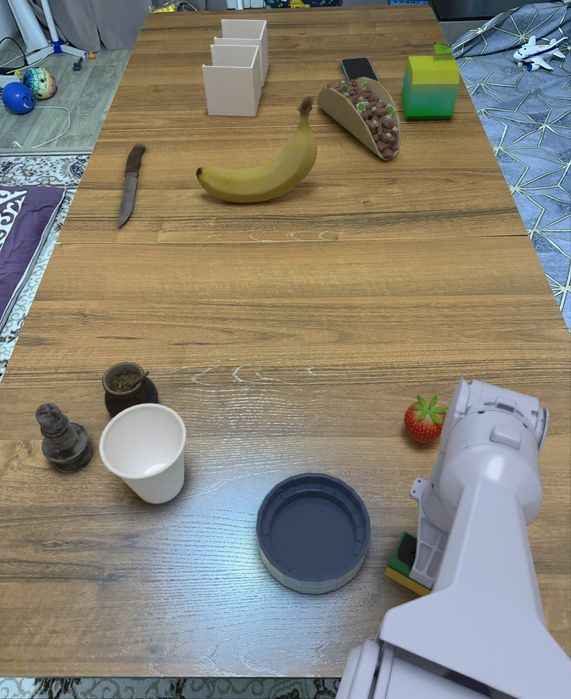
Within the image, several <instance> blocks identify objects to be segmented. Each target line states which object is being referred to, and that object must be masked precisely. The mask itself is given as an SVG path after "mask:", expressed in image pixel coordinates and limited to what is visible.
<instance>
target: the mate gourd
mask: <svg viewBox="0 0 571 699" xmlns="http://www.w3.org/2000/svg"><path fill="white" fill-rule="evenodd" d="M149 374H150V371H149V370H147V371H146V372H145V371H144V369H143V367H142V366H141V365H139V364H138V363H136V362H133V361H126V360H125V361H122V362H118V363H115V364H113V365H111V366H110V367H109V368H108V369H107V370H106V371H105V372H104V373H103V376H102V379H101V385H102V388H103V389H104V405H105V409H106V411H107V412H108V414H109V417H111V419H113V418H114V417H115V416H116V415H118V414H119V413H120V412H122V411H124V410H125V409H128V408H130V407H133V406H136V405H140V404H149V403H151V404H159V393H158V392H159V391H158V388H157V387H156V385H155V384H154V382H153V381H152V380H151V379H150V378H149V377H148V376H149Z"/></svg>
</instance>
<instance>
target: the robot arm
mask: <svg viewBox="0 0 571 699" xmlns="http://www.w3.org/2000/svg"><path fill="white" fill-rule="evenodd" d="M449 401H450V402H449V404H448V406H447V407H448V410H447V411H446V413H447V414H446V417H445V420H444V424H443V428H442V431H441V435H440V436H439V437H440V439H439V441H440V442H439V451H438V453H437V455H436V458H435V461H434V464H433V466H432V469H431V472H430V475H429V478H428V479H425V478H423V477H416V478H415V479H414V482H413V484H412V485H411V487H410V490H409V493H408V495H409V497H410V499H412V500H414V501H415V502H416V503H417V504H418V505H417V506H418V508H417V509H418V512H417V527H416V528H417V529H416V530H417V531H416V537H417V539H416V538H414V537H412V536H410V535H408V534H407V533H405V535H404V537H403V539H402V541H401V544H400V546H399V548H398V551H397V558H398V560H400V561H401V562H403V563H405V564H406V565H408V566H409V570H410V575H409V577H410V578H412V579H414V580H416V581H417V582H419V583H421V584H423V585H425V586H426V587H428V588H431V586H432V585H433V583H434V585H433V588H432V591H431V594H428V595H426V596H420V597H417V598H415V599H413V600H409V601H407V602H405V603H402V604H399V605H397V606H394V607H391V608H390V609H388V610H387V611H385V613H384V615H383V617H382V620H381V621H380V625H379V628H378V630H377V633H376V636H375V639H374V641H373V640H371V639H366V640H364V642H363V644H359V645H357V646H355V647H352V648H350V650H349V653H348V657H347V660H346V663H345V665H344V669H343V673H342V676H341V678H340V683H339V686H338V689H337V692H336V695H335V698H334V699H571V658H570V657H569V655H568V654H567V653H566V652H565V651H564V649H563V648H562V646H561V645H560V644H559V643H558V642H557V640H555V638H554V637H553V636H552V634H551V633H550V632H549V631H548V627H547V622H546V618H545V613H544V608H543V607H544V606H543V602H542V598H541V594H540V593H541V592H540V588H539V587H540V586H539V583H538V582H539V581H538V579H537V573H536V568H535V562H534V558H533V554H532V548H531V544H530V543H531V542H530V538H529V534H528V529H527V528H528V527H529V526H530V525H531V524H533V522H534V521H535V519H536V518H537V517H538V515H539V513H540V512H541V509H542V505H543V500H544V499H543V498H544V494H543V485H542V474H541V465H540V454H541V452H542V449H543V447H544V444H545V441H546V437H547V433H548V428H549V419H550V412H549V409H548V407H542V406H540V400H539V398H538V397H536V396H532V395H528V394H524V393H522V392H518V391H516V390H512V389H509V388H508V389H507V388H504V387H501V386H498V385H494V384H492V383H491V384H490V383H488V382H484V381H480V380H477V379H474V378H472V379H471V380H470V382H469V384H468V382H467V381H466V380H465V379H464V376H462V377H461V378H460V379H459V381H458V382H457V384H456V386H455V387H454V390H453V393H452V395H451V398H450V400H449Z"/></svg>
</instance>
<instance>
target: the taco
mask: <svg viewBox="0 0 571 699" xmlns="http://www.w3.org/2000/svg"><path fill="white" fill-rule="evenodd" d="M379 82H380V81H379ZM379 82H378V81H375V80H372V79H369V78H366V77H360V78H358V79H356V80H354V79H352V80H351V82H348V81H347V80H345V79H343V80H341V81H339V80H337V82H334V81H331V82H328V83H326V87H325V86H322V89H321V90H319V93H318V96H317V100H316V104H317V106H318V107H319V108H320V109H322V111H324V112H325V113H326V114H327V115H329V116H330V117H331V118H332V119H334V120H335V121H336V122H337V123H338V124H339V125H341V126H342V127H343V128H344V129H345V130H346V131H348V132H349V133H350V134H351V135H353V136H354V137H355V138H356V139H357V140H359V141H360V142H361V143H362V144H363V145H365V146H366V147H367V148H368V149H369V150H371V151H372V152H373V153H374V154H375V155H377V156H378V157H379V158H380V159H382V160H384V161H385V162H387V161H389V160H392V159H394V158H395V157H396V156H397V154H398V153H400V148H401V144H402V138H401V136H402V135H401V122H400V121H401V120H400V117H399V113H398V110H397V108H396V105H395V102H394V100H393V97H392V95H391V94H390V93H389V92H388V91H387V89H386V88H385V87H384V86H383V85H382V84H381V82H380V83H379Z"/></svg>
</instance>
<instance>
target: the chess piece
mask: <svg viewBox="0 0 571 699" xmlns="http://www.w3.org/2000/svg"><path fill="white" fill-rule="evenodd" d="M34 415H35V419H36V422H37V423H38V424H39V426H40V428H39V430H40V433H41V435H42V436H43V439H42V441H41V452H42V455H43V456H44V457H45V458H46V459H47V460H49V461H50V462H52V464H53V466H54V467H55V469H56V470H57V471H59V472H61V473H64V474H72V473H76V472H78V471H80V470H82V469H83V468H85V467H86V466H87V465H89V463H90V462H91V460H92V459H93V456H94V448H93V446H92V443H91V442H90V441H89V434H88V431H87V429H86V428H85V427H84V425H83V424H80V423H78V422H74V421H71V420H70V418H69V417H68V416H67V415H66V414H64V413H62V411H61V409H60V407H59V406H58V405H57V404H55V403H53V402H46V403H43V404H41V405H39V406H38V407H37V409H36V411H35V414H34Z"/></svg>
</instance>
